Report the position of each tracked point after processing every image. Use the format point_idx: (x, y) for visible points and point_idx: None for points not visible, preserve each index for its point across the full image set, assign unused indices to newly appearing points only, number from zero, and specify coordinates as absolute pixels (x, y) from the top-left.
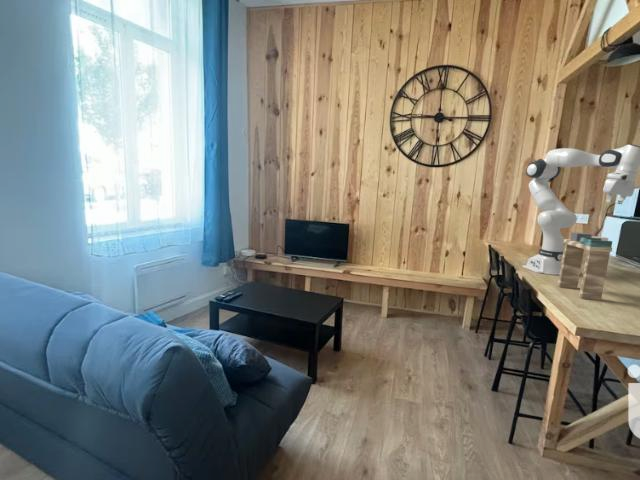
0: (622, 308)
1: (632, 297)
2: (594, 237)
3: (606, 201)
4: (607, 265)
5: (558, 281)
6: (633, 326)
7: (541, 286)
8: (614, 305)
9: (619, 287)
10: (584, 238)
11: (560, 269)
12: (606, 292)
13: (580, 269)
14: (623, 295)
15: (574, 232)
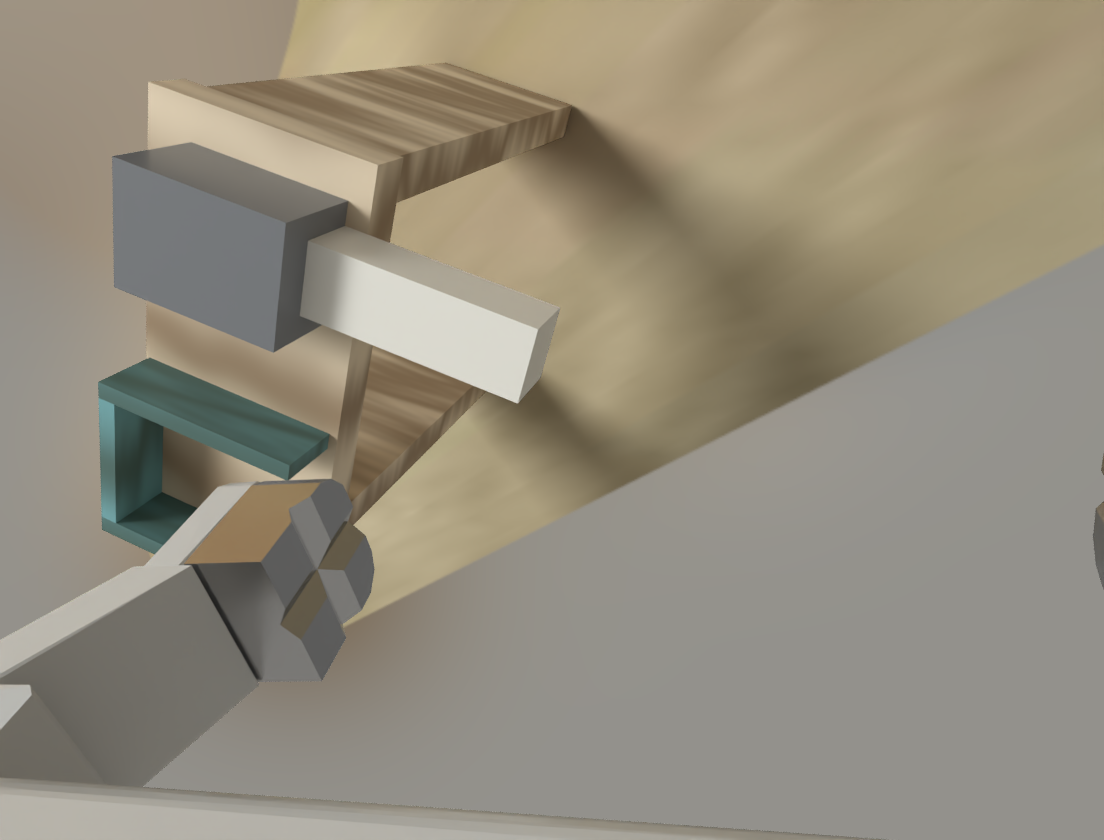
0: (504, 491)
1: (811, 379)
2: (351, 336)
3: (230, 497)
4: (393, 483)
5: (426, 66)
6: (346, 622)
7: (326, 40)
8: (505, 451)
9: (1055, 147)
10: (100, 441)
11: (373, 71)
12: (729, 250)
13: (505, 159)
14: (792, 332)
15: (149, 172)
